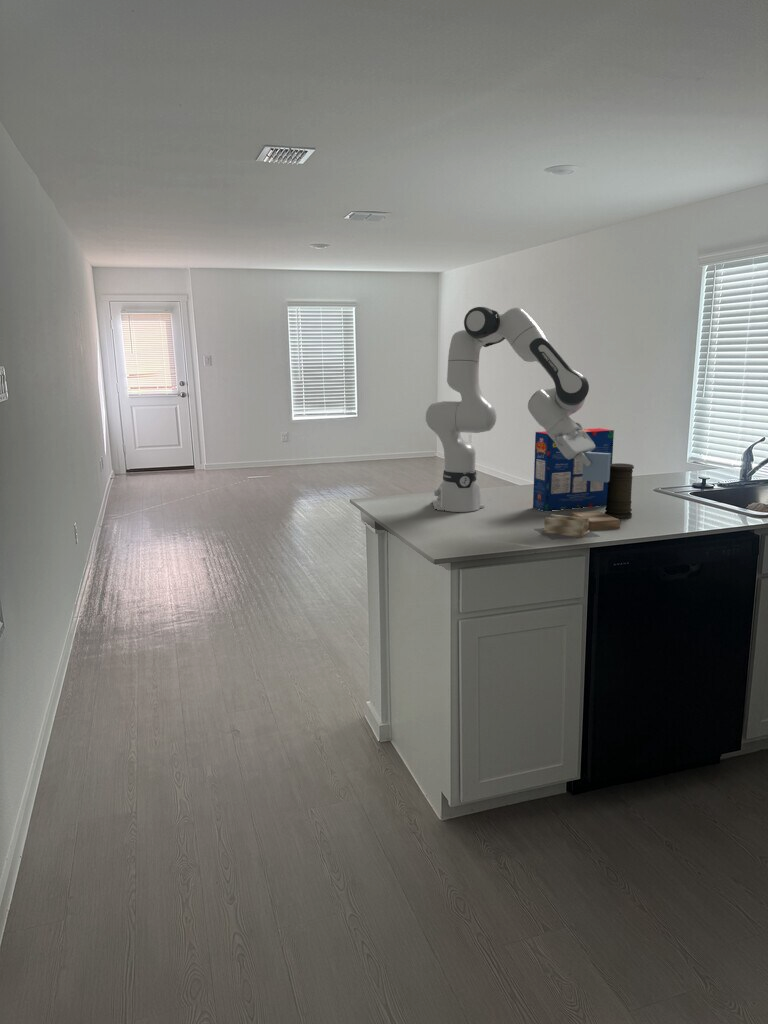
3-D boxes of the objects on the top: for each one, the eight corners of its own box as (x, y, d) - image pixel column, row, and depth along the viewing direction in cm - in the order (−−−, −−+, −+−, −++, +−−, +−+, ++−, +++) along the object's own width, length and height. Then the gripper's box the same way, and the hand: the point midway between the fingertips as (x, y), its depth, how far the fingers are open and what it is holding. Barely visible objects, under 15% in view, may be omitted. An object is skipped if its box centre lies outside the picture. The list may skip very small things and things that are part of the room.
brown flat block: (570, 521, 238) (571, 512, 237) (598, 519, 240) (598, 510, 239) (590, 530, 224) (591, 521, 224) (619, 529, 226) (620, 519, 225)
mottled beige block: (542, 532, 222) (542, 517, 221) (550, 527, 228) (550, 513, 227) (582, 537, 215) (583, 522, 214) (590, 532, 221) (590, 518, 220)
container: (636, 516, 244) (639, 464, 240) (624, 520, 238) (627, 467, 234) (611, 512, 250) (614, 462, 247) (599, 516, 244) (602, 465, 240)
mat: (533, 529, 227) (533, 528, 227) (579, 526, 230) (579, 525, 230) (551, 540, 213) (551, 539, 213) (600, 537, 216) (600, 536, 216)
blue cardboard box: (595, 501, 269) (599, 428, 263) (609, 505, 262) (613, 430, 256) (532, 507, 260) (535, 431, 254) (545, 512, 252) (548, 434, 246)
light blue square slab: (582, 480, 229) (583, 452, 227) (584, 479, 231) (586, 451, 229) (606, 482, 224) (608, 454, 222) (609, 481, 226) (610, 453, 224)
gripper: (559, 428, 220) (588, 461, 217) (582, 423, 237) (609, 454, 233) (545, 441, 224) (573, 474, 220) (568, 436, 240) (595, 466, 237)
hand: (592, 464), depth 227 cm, fingers closed on light blue square slab, 2 cm apart
